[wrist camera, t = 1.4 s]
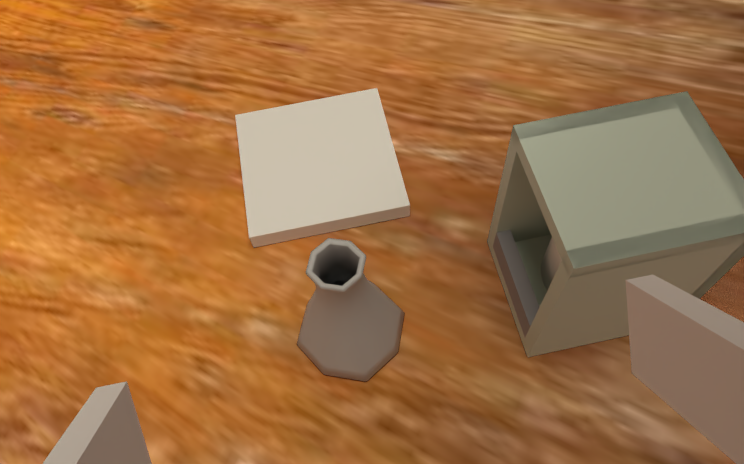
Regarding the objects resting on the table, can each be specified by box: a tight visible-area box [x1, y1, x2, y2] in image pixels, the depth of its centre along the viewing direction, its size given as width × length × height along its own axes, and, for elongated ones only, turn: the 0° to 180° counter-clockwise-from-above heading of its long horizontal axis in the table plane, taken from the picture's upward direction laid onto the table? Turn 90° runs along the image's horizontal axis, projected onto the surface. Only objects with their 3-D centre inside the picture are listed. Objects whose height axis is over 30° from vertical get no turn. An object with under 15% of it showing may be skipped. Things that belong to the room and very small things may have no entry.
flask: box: [297, 238, 405, 382], centre depth 37 cm, size 7×7×10 cm
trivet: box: [235, 88, 410, 247], centre depth 47 cm, size 12×12×2 cm
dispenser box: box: [487, 91, 744, 357], centre depth 36 cm, size 10×9×13 cm
